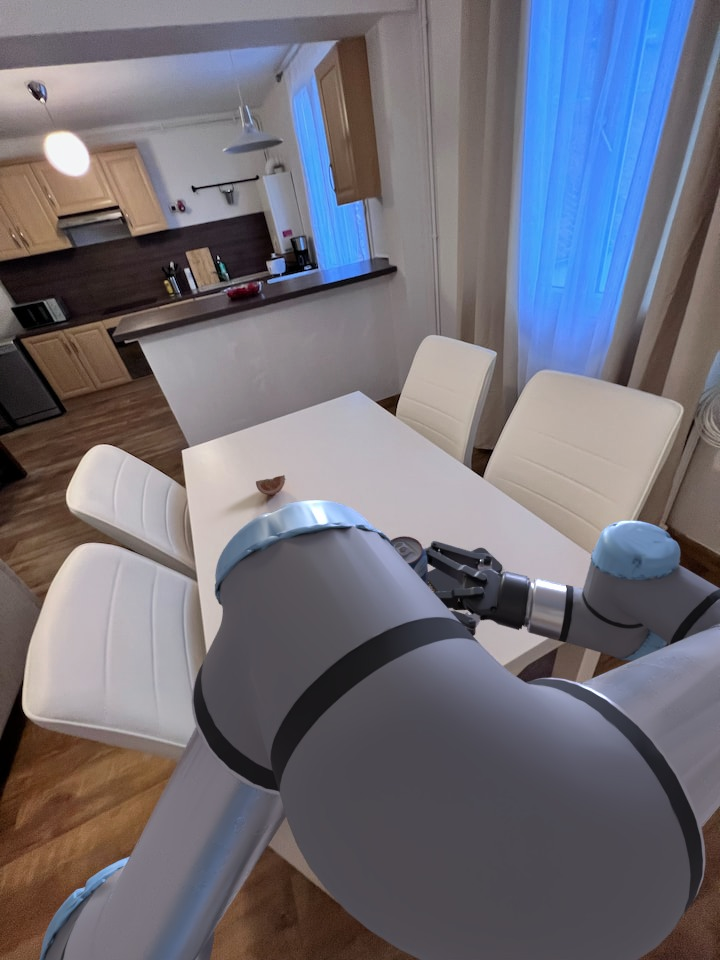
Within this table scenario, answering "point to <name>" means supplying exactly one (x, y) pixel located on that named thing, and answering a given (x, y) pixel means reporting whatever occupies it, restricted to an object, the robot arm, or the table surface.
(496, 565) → the phone
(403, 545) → the soda can
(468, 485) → the table surface
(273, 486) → the fruit slice
